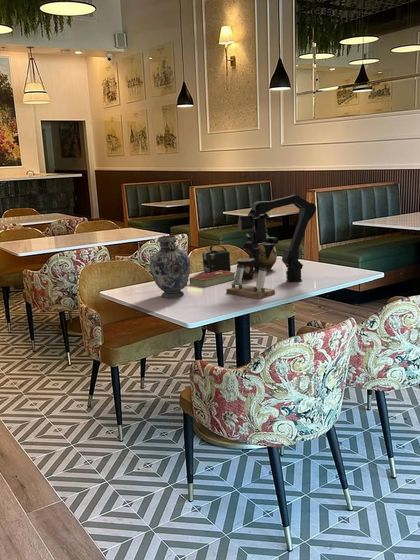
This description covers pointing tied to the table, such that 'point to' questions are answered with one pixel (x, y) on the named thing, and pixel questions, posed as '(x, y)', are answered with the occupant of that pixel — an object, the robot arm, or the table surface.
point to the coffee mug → (248, 267)
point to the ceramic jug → (264, 257)
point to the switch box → (250, 291)
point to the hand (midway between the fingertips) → (262, 260)
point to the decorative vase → (170, 267)
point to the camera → (216, 260)
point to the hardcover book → (212, 278)
